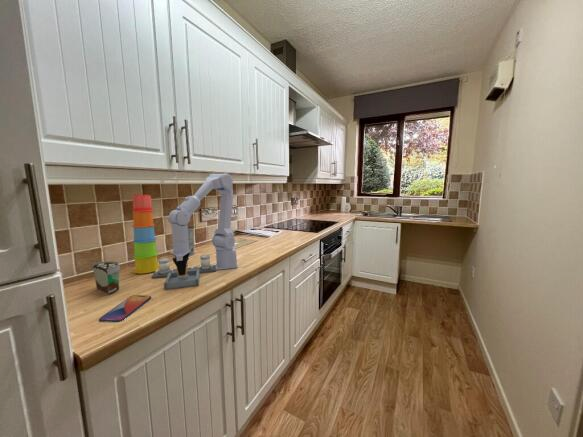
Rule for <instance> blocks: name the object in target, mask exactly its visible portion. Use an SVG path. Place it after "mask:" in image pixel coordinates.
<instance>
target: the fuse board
mask: <svg viewBox="0 0 583 437" xmlns="http://www.w3.org/2000/svg"><path fill="white" fill-rule="evenodd" d="M196 269H199V273H200V274H205V273H206V274H208V273H215V272H217V270H216V264H214V263H212V264H211V263H210V269H208V270H201V264H200V265H197V266H194V265H192V266H191V267H188V270H196ZM170 272H177V268H174V267H173V268H172V267H170ZM167 276H168V274H160V273H159V269H158V270H156V271H154V272H152V275H151V277H150V278H151V279H161V278H167Z"/></svg>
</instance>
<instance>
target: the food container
mask: <svg viewBox="0 0 583 437" xmlns="http://www.w3.org/2000/svg"><path fill="white" fill-rule="evenodd" d="M92 269H93V275H94V280H95V281H94V282H95V285H96V286H95V287H96V290H97V291H99V292H101V293H104V294H106V295H108V296H111V295H113V294H115V293H117V292H118V291H119V290H120V276H119V275H120V272H119V271H120V270H121V269H122V268H121V266H120V264H119V262H118V261H113V260H112V261H110V260H108V261H100V262H99V261H98V262H93V263H92Z"/></svg>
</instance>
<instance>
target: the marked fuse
mask: <svg viewBox="0 0 583 437" xmlns="http://www.w3.org/2000/svg"><path fill="white" fill-rule="evenodd" d="M188 268H189V266H188V263H187V264H186V272H185V275H179V273H178V270H177V278H178V279H185V278H187V277H188Z"/></svg>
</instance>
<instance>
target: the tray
mask: <svg viewBox="0 0 583 437" xmlns="http://www.w3.org/2000/svg"><path fill="white" fill-rule="evenodd" d="M200 275H201V273H199V269H196V270H188V277H187V278H185V279H178V278H177V272H169V273H168V276H167V277H165V281H164V283H163V285H164V288H163V289H164V291H166V290H167V291H168V290H175V289H183V288H191V287H199V283H200Z"/></svg>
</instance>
